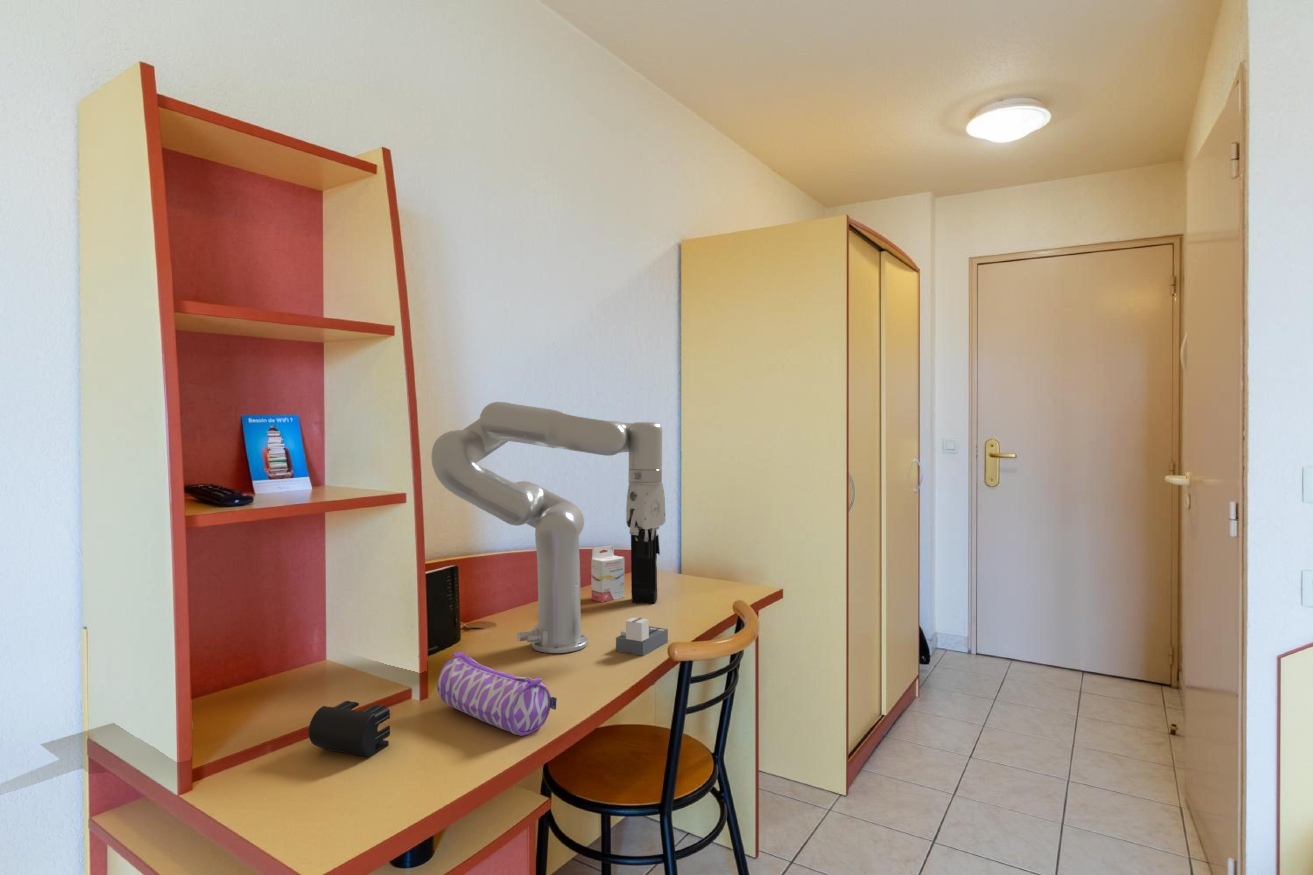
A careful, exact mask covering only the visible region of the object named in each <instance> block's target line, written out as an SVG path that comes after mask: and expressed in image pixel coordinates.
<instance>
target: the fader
mask: <svg viewBox="0 0 1313 875" xmlns="http://www.w3.org/2000/svg"><path fill="white" fill-rule="evenodd" d="M649 622H650V620H649V619H646V618H645V619H644V618H643V617H634V616H633V617H631V618H628V619H626V620H625V630H626V639H630V640H635V641H641V642H642V641H644V640H646V639H648V638H649V626H650V623H649Z"/></svg>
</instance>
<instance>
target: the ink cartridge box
mask: <svg viewBox="0 0 1313 875" xmlns="http://www.w3.org/2000/svg"><path fill="white" fill-rule="evenodd" d="M603 550H604V551H605V552H602V551H603ZM590 563H591V566H590V567H591V572H590V573H591V576H590V577H591V579H590V580H591V586H590V587H591V600H593V601H596V602H599V603H606V602H610V601H614V600H619V598H620V599H623V598H622V597H624V598H625V556H619V555H615V545H613V544H612V545H606V546H598V547H593V548H592V549H591V562H590ZM605 601H606V602H605Z"/></svg>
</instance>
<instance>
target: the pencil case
mask: <svg viewBox="0 0 1313 875" xmlns="http://www.w3.org/2000/svg"><path fill="white" fill-rule="evenodd" d="M451 656H452V657H454V658H451V659H450V660H448V661H447V662H445V664H444V665H443V666H442V667H441V670H440V673H439V676H438V680H437V684H436V685H437V693H438V697H439V699H440V700H441V701H442V703H444V704H445V705H448V706H449V707H451V708H453V709H455V710H458V711H460V712H463V713H464V714H467V715H469V716H471V717H473V718H475V719H477V720H479V721H481V722H483V723H486V724H489V725H491V726H494V727H496V728H499V729H501V730H504V731H507V732H509V733H511V734H513V735H518V736H523V737H524V736H528V735H530V734H532V733H534V732H536V731H538V730H540V729H541V728H542V726H543V725H545V723H546V721H547V720H548V716H549V714H550V711H551V709H552V710H556V709H557V701H558V700H557V698H558V697H555V696H554V697H552V696H551V693H550V691H549V689H548V688H547V686H545V685H544V684H543V683H542V681H543V678H541V677H540V678H531V676H526V677H524V676H523V677H522V676H516V675H512V674H509V673H507V672H502V671H498V670H496V669H494V668H491V667H488V666H485V665H483V664H481V663H479V662H477V661H476V660H474V659H473V658H472V657H471V656H469V655H466V654H465V653H464V651H462V650H461V651H457V652H453V653H451Z"/></svg>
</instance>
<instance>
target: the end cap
mask: <svg viewBox="0 0 1313 875" xmlns="http://www.w3.org/2000/svg"><path fill="white" fill-rule="evenodd" d="M359 706H360V703H359V702H357V701H350V700H345V701H342V702H341V703H339V704H336V705H335V706H333V707H332V706H325V705H323V706H321V707H320V708H318V710H317V711H315V713H314V714H313V716H312V718H311V719H310V720H311V721H310V723H309V726H308V737H309V741H310V742H311V744H313V745H314V746H316V747H318V748H320V749H323V750H327V751H333V752H339V753H346V754H352V755H357V756H363V757H367V758H368V757H371V758H372V757H373V756H375V755H377V754H379V753H380V752H381V751H383V750H384V749H386V748H387V747H389V745H390V742H389V740H386V739H387V738H388V737H390V736H391V725H387V726H385V727H383V728H381V729H380V730H378V728H379V726H380V725H381V724H383V723H384V722H386V721H388V720H389V719H390V718H391V712H390V711H391V710H390V708H389V707H388V706H386V705H378V704H373V705H371V706H369V707H367V708H365V709H361V710H355V709H356V708H357V707H359Z"/></svg>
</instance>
